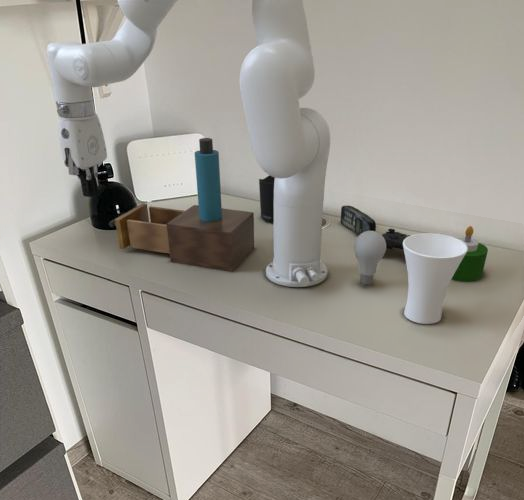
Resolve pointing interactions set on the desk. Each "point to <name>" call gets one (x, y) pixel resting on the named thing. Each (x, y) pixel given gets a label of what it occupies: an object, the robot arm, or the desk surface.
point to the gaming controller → (394, 239)
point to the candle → (471, 259)
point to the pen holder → (267, 198)
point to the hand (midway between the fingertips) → (91, 195)
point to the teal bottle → (208, 181)
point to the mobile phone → (356, 220)
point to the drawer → (145, 228)
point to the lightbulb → (369, 254)
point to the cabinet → (211, 239)
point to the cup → (430, 273)
